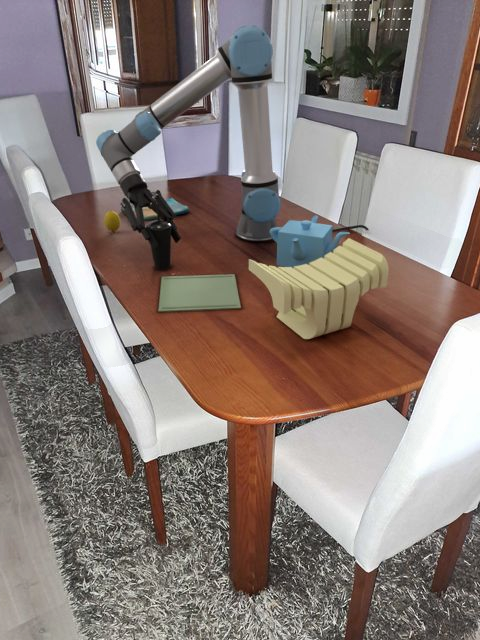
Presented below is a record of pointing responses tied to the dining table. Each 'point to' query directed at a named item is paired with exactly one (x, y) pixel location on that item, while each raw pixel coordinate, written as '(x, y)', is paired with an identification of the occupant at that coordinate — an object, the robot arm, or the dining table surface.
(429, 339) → the dining table surface
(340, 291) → the slatted curved stool
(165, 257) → the drinking cup
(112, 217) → the lemon
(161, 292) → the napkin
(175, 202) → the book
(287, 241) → the teakettle
